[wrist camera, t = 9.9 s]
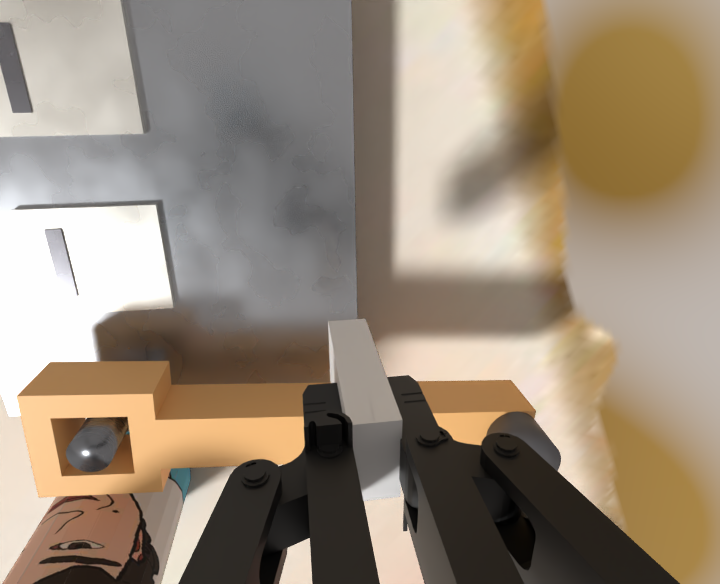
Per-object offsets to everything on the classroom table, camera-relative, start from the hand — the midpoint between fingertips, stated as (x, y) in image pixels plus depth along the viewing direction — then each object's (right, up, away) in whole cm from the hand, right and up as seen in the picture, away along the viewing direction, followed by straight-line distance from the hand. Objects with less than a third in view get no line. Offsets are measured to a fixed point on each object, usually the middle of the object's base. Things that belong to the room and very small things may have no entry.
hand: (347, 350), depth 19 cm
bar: (-3, -3, +5) cm, 7 cm away
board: (-9, +7, +5) cm, 13 cm away
